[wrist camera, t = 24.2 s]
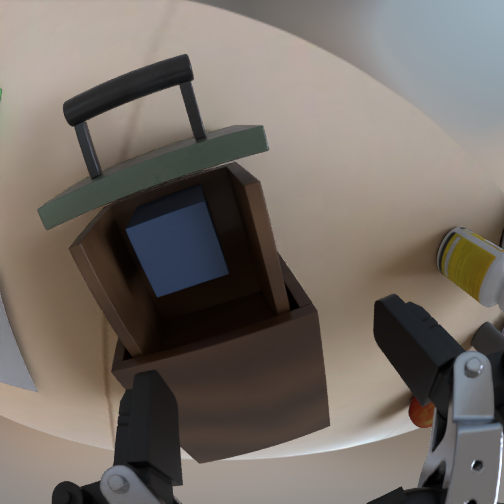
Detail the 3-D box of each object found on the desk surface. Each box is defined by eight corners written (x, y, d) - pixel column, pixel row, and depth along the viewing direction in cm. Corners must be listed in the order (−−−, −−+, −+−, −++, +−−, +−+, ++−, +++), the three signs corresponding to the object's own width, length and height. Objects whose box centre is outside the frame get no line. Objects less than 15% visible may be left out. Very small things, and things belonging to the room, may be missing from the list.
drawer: (66, 118, 16) (8, 121, 9) (218, 62, 17) (236, 27, 10) (152, 324, 24) (146, 393, 17) (276, 285, 25) (309, 345, 18)
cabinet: (130, 288, 23) (110, 371, 15) (271, 242, 24) (317, 310, 16) (191, 390, 30) (199, 463, 21) (298, 358, 31) (330, 426, 22)
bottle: (481, 322, 40) (530, 369, 27) (493, 320, 42) (538, 362, 28) (467, 347, 42) (511, 395, 29) (479, 343, 44) (521, 387, 31)
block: (137, 206, 19) (124, 229, 15) (201, 183, 19) (204, 200, 15) (161, 263, 21) (157, 297, 17) (220, 243, 21) (229, 274, 17)
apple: (438, 385, 46) (458, 411, 39) (406, 411, 47) (424, 438, 40) (433, 372, 42) (456, 401, 35) (398, 402, 43) (418, 432, 36)
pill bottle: (428, 275, 30) (493, 330, 20) (441, 225, 28) (518, 272, 17) (458, 269, 32) (518, 315, 21) (471, 224, 29) (539, 264, 19)
